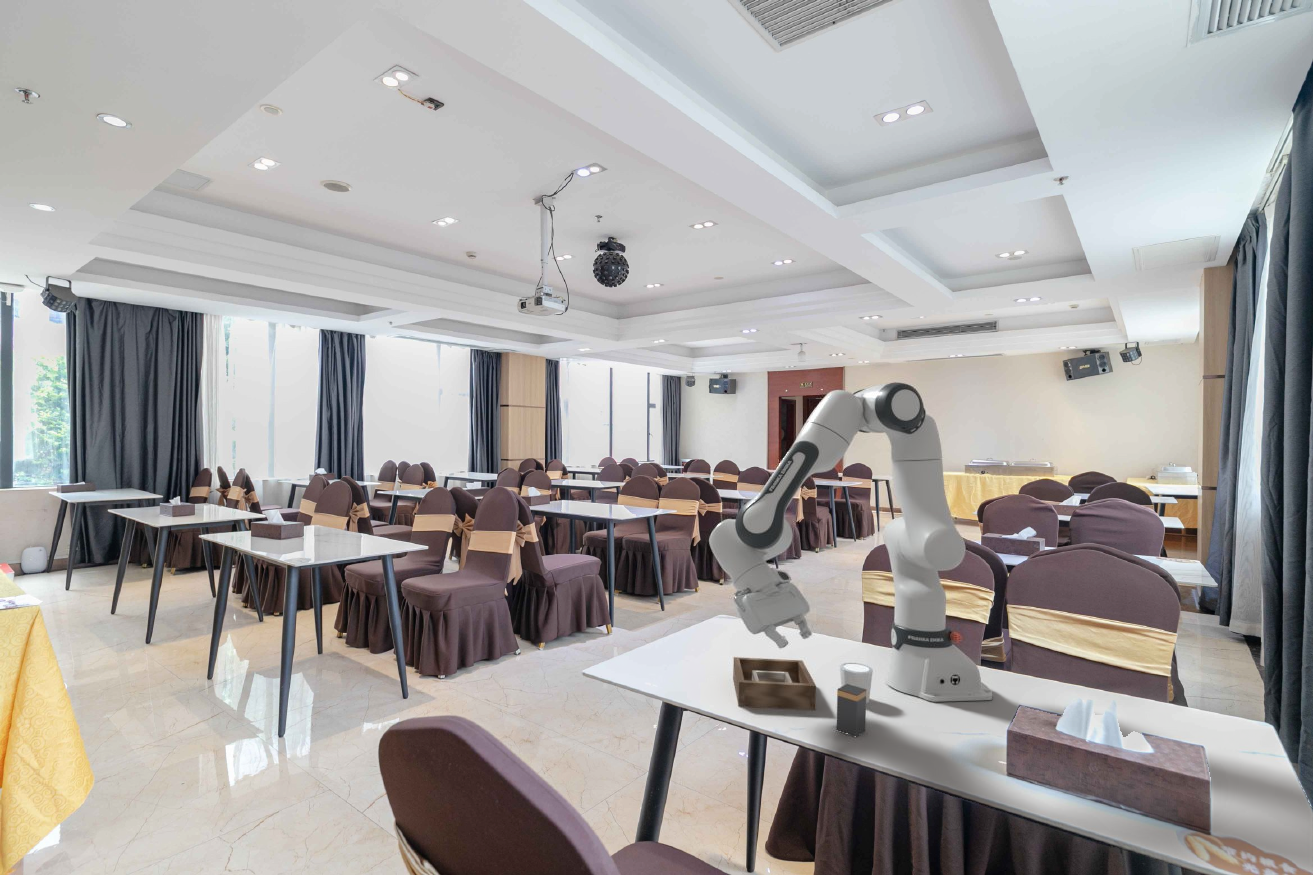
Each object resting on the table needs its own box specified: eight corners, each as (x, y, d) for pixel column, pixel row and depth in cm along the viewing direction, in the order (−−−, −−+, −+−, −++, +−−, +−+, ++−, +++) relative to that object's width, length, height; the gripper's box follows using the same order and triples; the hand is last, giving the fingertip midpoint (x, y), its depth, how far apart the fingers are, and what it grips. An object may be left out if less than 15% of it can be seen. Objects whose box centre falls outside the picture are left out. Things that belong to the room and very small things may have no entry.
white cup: (872, 696, 140) (872, 664, 140) (871, 707, 134) (872, 674, 134) (839, 691, 142) (840, 660, 143) (838, 702, 136) (839, 670, 136)
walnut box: (801, 681, 148) (802, 660, 148) (815, 710, 132) (816, 685, 132) (733, 678, 148) (733, 657, 148) (738, 705, 132) (739, 682, 133)
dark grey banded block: (845, 724, 125) (846, 683, 125) (865, 730, 122) (866, 689, 123) (836, 730, 122) (837, 688, 122) (856, 737, 120) (857, 694, 120)
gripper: (739, 584, 129) (779, 643, 122) (791, 571, 144) (830, 624, 137) (721, 601, 132) (759, 660, 125) (774, 588, 147) (811, 640, 140)
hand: (796, 641), depth 131 cm, fingers open, 8 cm apart
